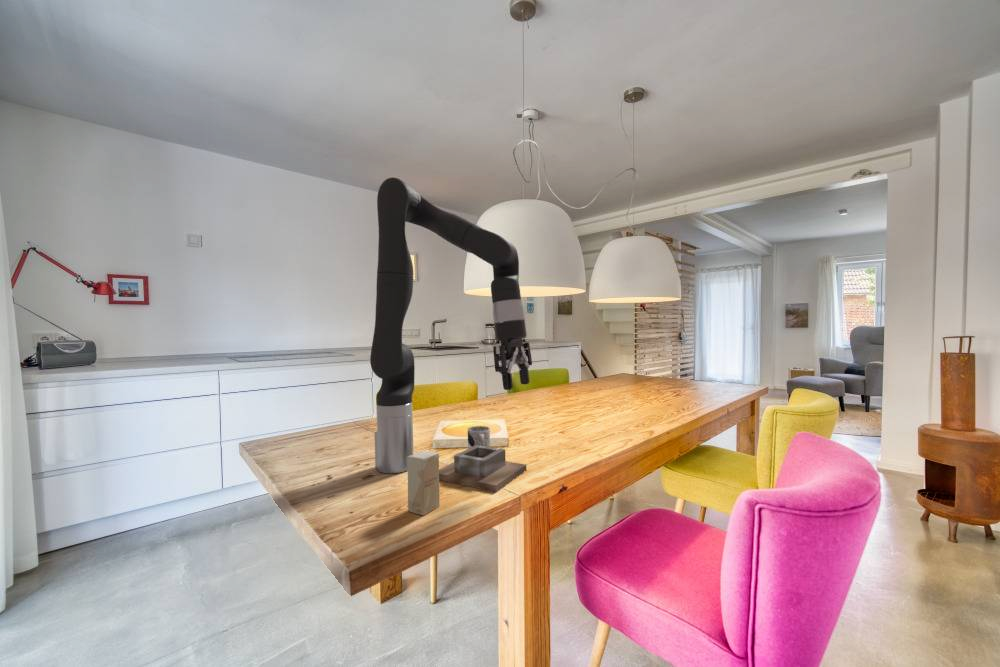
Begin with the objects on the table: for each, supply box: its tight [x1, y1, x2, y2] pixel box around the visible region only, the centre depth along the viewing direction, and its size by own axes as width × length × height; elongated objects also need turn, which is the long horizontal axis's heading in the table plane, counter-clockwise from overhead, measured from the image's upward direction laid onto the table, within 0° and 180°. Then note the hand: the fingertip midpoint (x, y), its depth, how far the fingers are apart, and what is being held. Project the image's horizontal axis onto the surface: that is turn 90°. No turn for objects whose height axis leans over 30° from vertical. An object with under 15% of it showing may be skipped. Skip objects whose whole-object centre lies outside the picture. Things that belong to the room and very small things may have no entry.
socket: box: [439, 445, 527, 493], centre depth 97 cm, size 18×15×6 cm
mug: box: [467, 425, 491, 449], centre depth 115 cm, size 10×7×7 cm
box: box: [407, 450, 440, 516], centre depth 79 cm, size 5×4×11 cm
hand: (517, 386), depth 94 cm, fingers open, 8 cm apart
